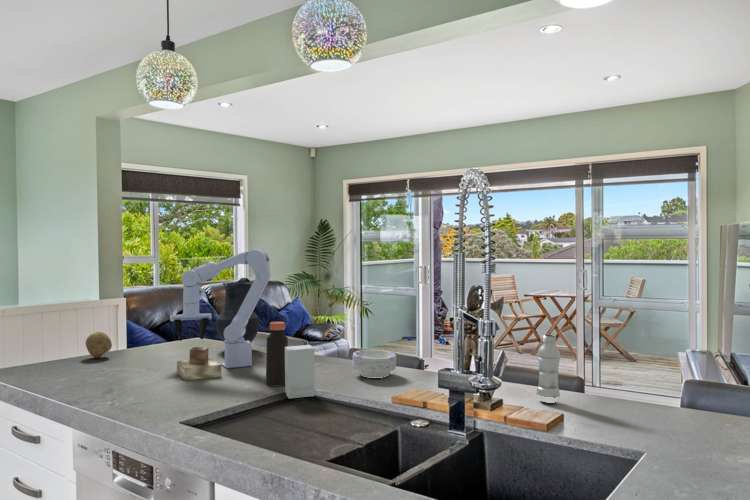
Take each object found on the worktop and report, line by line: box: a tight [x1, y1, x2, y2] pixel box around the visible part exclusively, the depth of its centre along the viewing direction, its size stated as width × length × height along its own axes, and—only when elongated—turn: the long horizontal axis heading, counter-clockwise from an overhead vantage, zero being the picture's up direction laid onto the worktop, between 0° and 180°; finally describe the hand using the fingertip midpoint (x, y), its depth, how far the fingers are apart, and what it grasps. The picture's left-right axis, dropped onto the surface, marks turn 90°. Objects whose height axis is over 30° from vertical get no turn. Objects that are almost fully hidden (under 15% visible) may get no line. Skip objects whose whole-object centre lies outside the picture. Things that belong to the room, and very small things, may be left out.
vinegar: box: [265, 321, 289, 386], centre depth 185 cm, size 7×7×20 cm
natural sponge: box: [85, 331, 113, 359], centre depth 220 cm, size 9×9×10 cm
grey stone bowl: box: [352, 349, 397, 377], centre depth 199 cm, size 15×15×8 cm
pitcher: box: [215, 277, 260, 344], centre depth 241 cm, size 17×21×30 cm
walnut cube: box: [188, 346, 209, 365], centre depth 196 cm, size 5×5×5 cm
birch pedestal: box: [176, 357, 222, 381], centre depth 196 cm, size 12×12×4 cm
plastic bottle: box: [536, 334, 561, 398], centre depth 169 cm, size 6×7×20 cm
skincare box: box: [284, 344, 316, 400], centre depth 172 cm, size 8×6×15 cm
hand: (190, 339), depth 210 cm, fingers open, 7 cm apart
